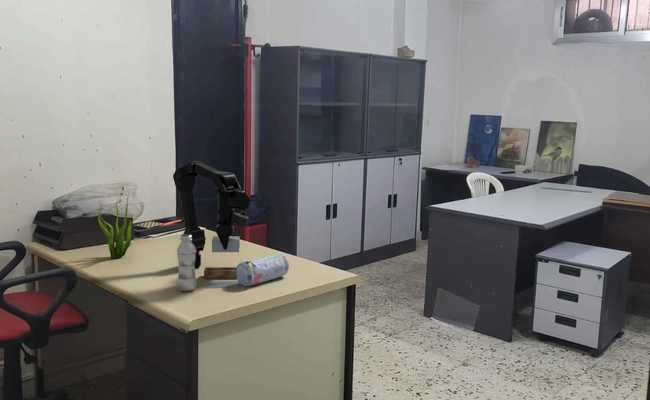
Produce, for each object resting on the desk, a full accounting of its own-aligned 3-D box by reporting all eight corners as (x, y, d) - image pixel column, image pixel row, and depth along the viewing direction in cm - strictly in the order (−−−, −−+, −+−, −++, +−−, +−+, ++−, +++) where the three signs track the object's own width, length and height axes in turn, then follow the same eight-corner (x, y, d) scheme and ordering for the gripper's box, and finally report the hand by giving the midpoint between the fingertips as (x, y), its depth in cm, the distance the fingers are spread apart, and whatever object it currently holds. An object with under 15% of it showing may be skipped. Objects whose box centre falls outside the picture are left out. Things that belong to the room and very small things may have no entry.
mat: (206, 288, 216) (206, 287, 216) (208, 282, 224) (208, 281, 224) (240, 288, 218) (240, 287, 218) (241, 281, 225) (241, 281, 225)
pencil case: (249, 289, 216) (249, 263, 214) (233, 284, 221) (233, 258, 220) (290, 278, 231) (291, 254, 230) (274, 273, 237) (275, 250, 236)
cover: (211, 252, 225) (211, 240, 225) (213, 247, 232) (213, 236, 232) (239, 252, 227) (239, 240, 226) (239, 247, 233) (239, 236, 233)
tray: (204, 279, 228) (203, 270, 227) (205, 275, 233) (205, 267, 232) (246, 278, 230) (246, 270, 229) (247, 275, 234) (247, 267, 234)
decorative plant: (84, 203, 240) (89, 187, 253) (110, 263, 255) (114, 244, 268) (129, 192, 242) (131, 176, 254) (153, 252, 257) (154, 233, 269)
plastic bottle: (178, 287, 216) (177, 233, 213) (197, 287, 217) (197, 233, 214) (175, 293, 210) (174, 237, 207) (195, 293, 211) (194, 237, 207)
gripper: (247, 211, 219) (246, 253, 221) (247, 202, 237) (247, 241, 239) (215, 210, 217) (215, 253, 220) (219, 202, 236) (219, 241, 238)
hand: (225, 247), depth 229 cm, fingers closed on cover, 7 cm apart
